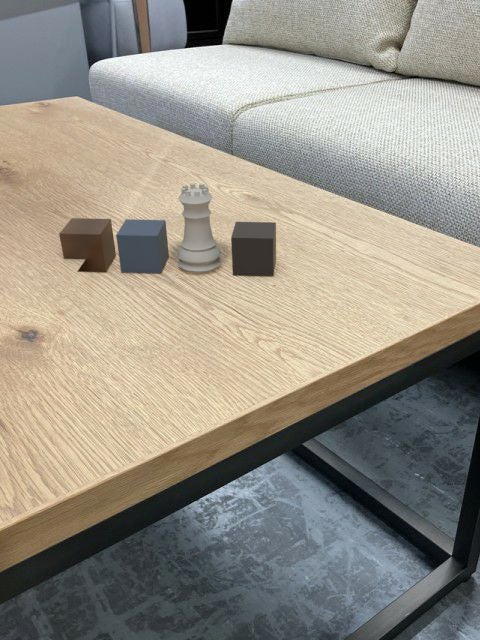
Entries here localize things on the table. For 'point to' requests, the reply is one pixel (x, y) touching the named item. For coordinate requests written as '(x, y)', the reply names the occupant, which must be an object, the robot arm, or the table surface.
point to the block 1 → (89, 243)
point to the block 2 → (143, 246)
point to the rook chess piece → (197, 232)
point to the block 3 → (254, 248)
